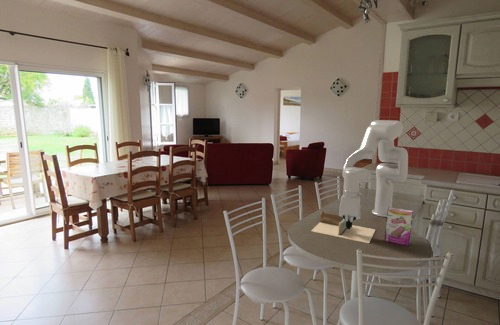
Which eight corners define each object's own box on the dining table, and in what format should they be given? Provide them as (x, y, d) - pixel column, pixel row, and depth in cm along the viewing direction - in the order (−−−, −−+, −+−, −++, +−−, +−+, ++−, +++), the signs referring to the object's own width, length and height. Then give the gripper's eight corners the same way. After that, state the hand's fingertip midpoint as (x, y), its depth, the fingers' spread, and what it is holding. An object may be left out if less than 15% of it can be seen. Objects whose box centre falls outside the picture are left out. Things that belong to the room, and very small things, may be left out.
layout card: (322, 220, 179) (322, 219, 179) (375, 230, 165) (375, 229, 164) (310, 231, 162) (311, 230, 162) (369, 243, 148) (369, 242, 147)
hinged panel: (347, 227, 167) (347, 216, 166) (341, 234, 157) (341, 223, 156) (344, 226, 167) (344, 216, 166) (338, 233, 157) (338, 222, 156)
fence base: (320, 221, 177) (320, 210, 175) (348, 227, 169) (349, 215, 168) (319, 222, 175) (319, 211, 174) (347, 228, 167) (348, 216, 166)
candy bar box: (384, 241, 150) (386, 209, 147) (385, 238, 154) (388, 206, 152) (409, 246, 145) (413, 213, 142) (410, 243, 149) (413, 210, 146)
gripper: (367, 194, 156) (364, 228, 160) (337, 190, 163) (335, 223, 166) (365, 197, 150) (363, 233, 153) (334, 194, 156) (332, 228, 159)
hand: (348, 228), depth 159 cm, fingers closed
